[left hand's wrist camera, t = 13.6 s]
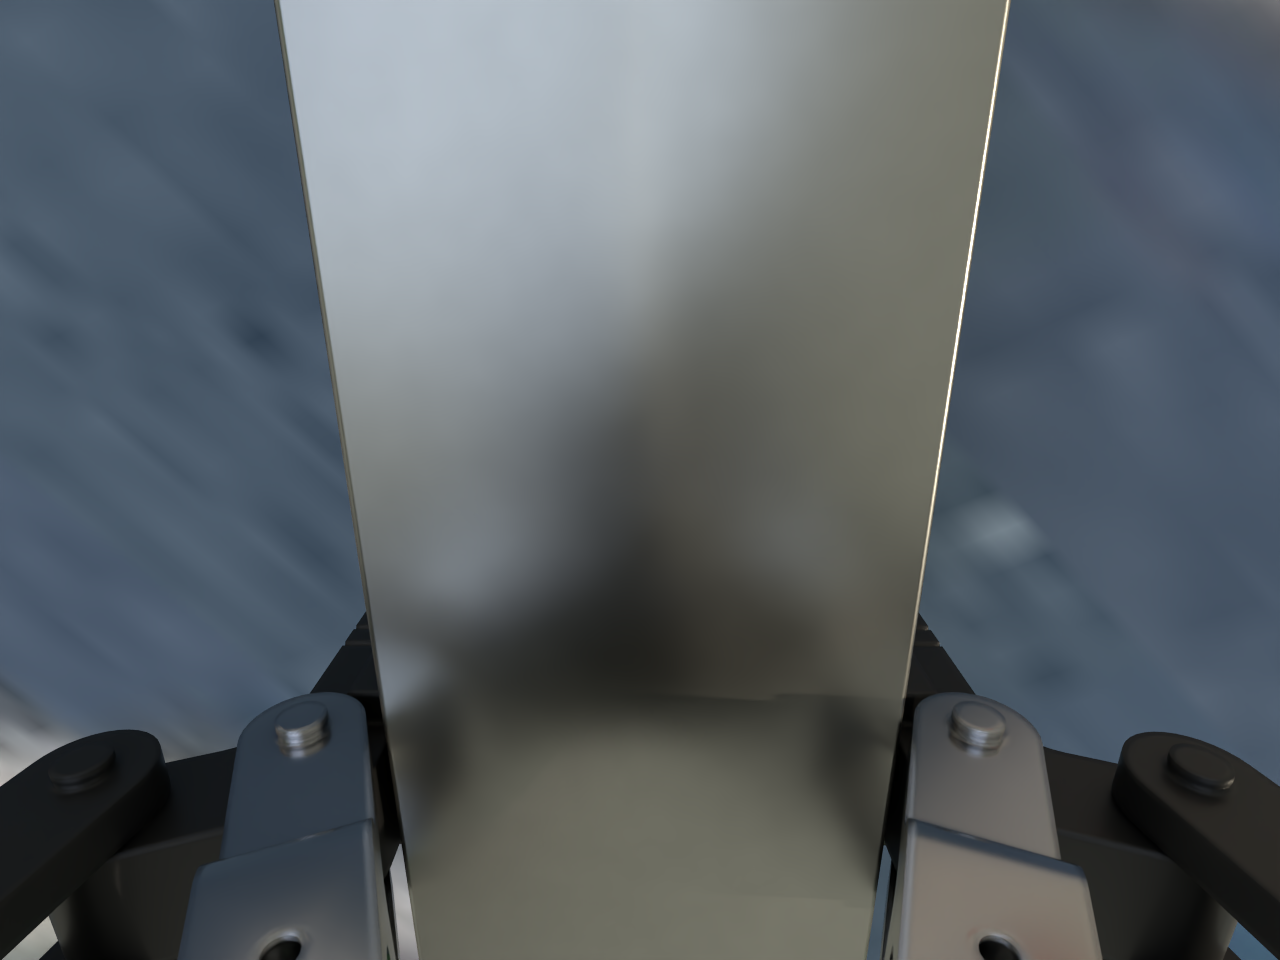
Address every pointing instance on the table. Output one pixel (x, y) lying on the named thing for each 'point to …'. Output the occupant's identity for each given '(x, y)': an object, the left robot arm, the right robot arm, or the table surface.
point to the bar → (642, 440)
